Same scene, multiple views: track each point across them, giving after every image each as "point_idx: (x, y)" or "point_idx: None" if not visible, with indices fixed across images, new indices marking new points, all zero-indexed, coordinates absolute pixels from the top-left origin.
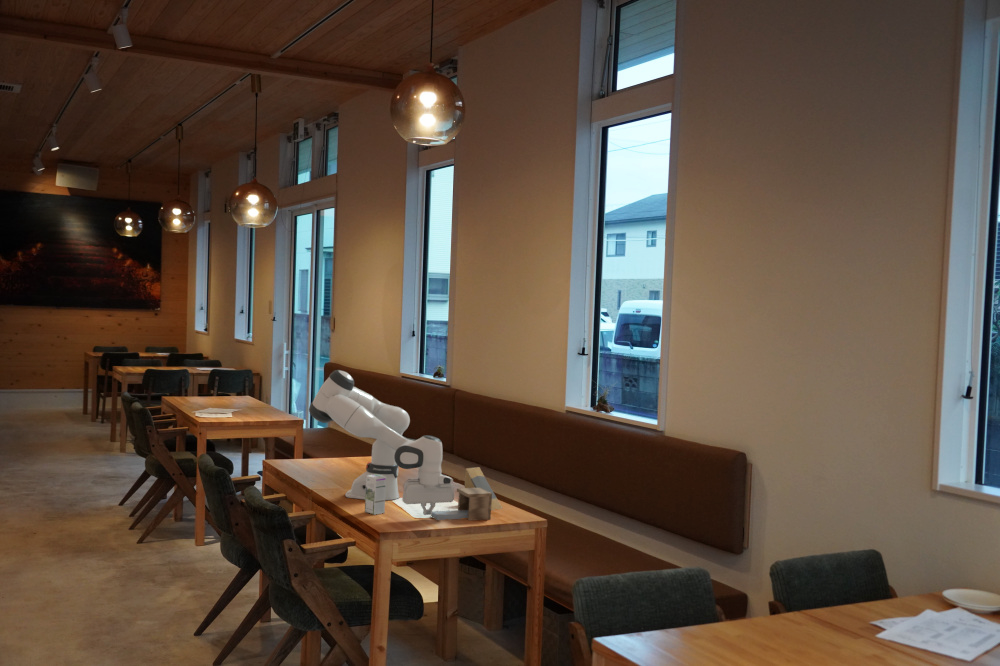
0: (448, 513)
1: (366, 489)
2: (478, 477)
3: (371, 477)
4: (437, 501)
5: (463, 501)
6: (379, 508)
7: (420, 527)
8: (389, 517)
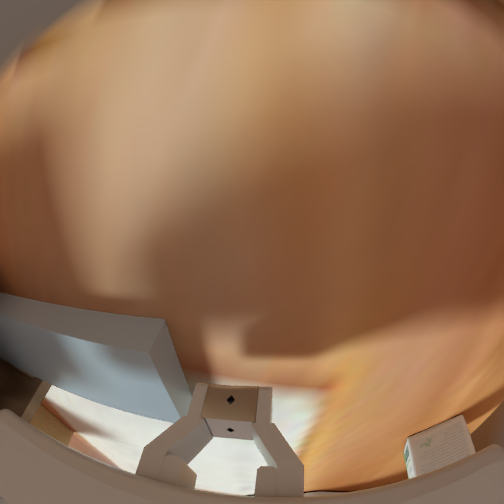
0: (66, 355)
1: None
2: None
3: None
4: (104, 478)
5: (10, 405)
6: (442, 445)
7: (451, 70)
8: (447, 393)
